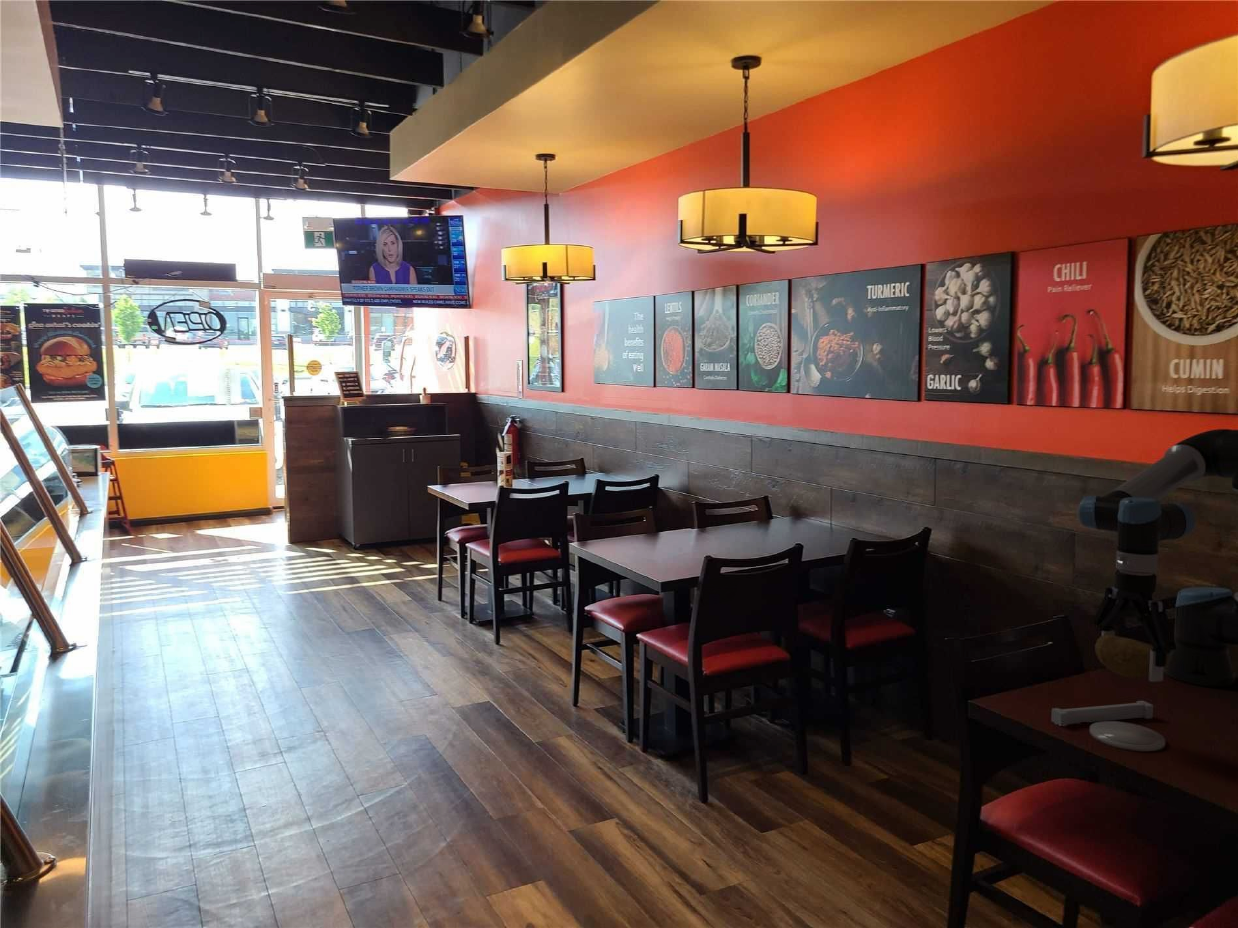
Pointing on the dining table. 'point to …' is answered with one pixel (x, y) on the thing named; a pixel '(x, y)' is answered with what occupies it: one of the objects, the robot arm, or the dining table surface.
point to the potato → (1125, 656)
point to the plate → (1127, 736)
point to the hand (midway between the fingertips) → (1130, 670)
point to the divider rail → (1102, 713)
